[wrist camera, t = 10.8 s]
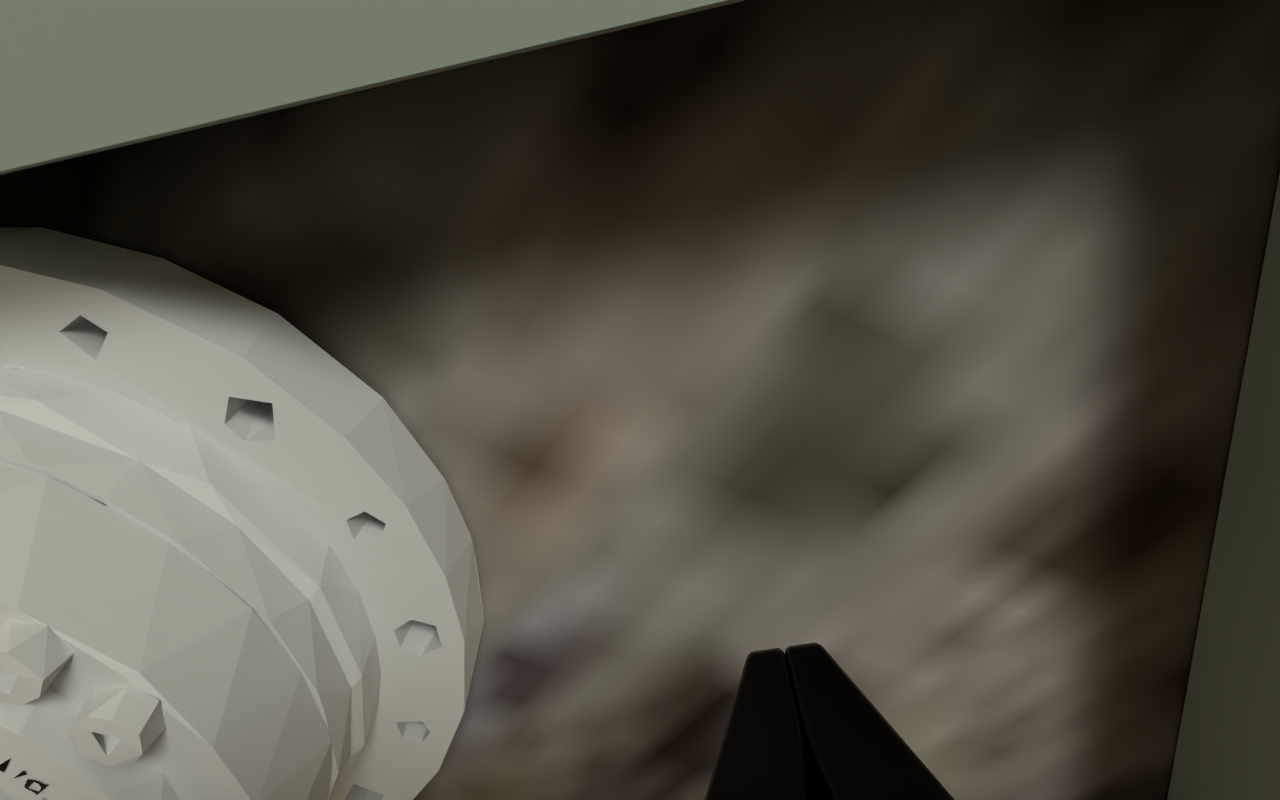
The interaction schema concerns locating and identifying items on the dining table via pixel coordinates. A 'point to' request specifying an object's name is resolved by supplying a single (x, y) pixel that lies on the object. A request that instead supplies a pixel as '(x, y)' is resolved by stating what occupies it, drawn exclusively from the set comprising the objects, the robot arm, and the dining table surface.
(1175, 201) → the dining table surface
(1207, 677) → the green u-shaped frame
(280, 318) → the mechanical component
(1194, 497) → the dining table surface
